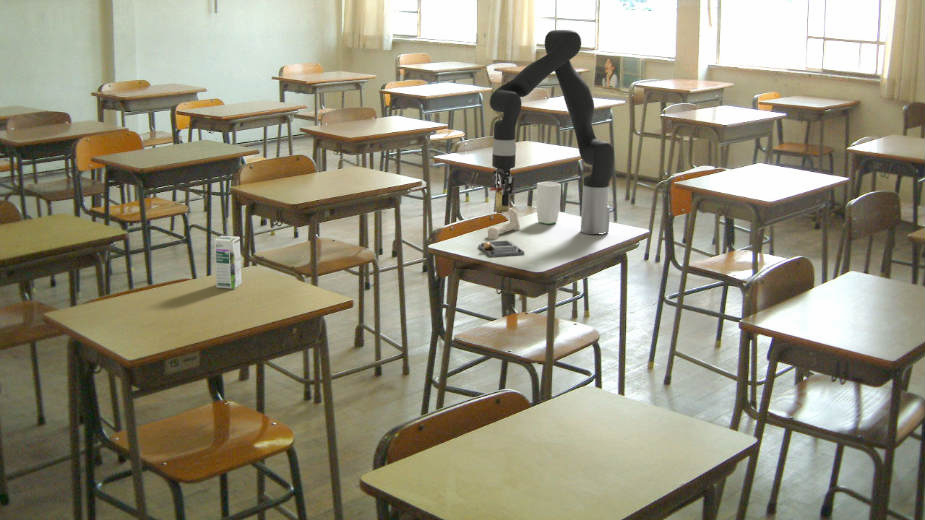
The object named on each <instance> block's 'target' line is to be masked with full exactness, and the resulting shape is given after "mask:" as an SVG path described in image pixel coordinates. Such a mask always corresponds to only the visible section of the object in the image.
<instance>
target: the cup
mask: <svg viewBox="0 0 925 520" xmlns="http://www.w3.org/2000/svg"><path fill="white" fill-rule="evenodd" d="M561 191H562V184H561V183H558V182H554V181H542V182H537V183H536V214H537V221H538V222H539V223H541V224H543V225H551V224H556V223H557V222H558V218H559V212H560V205H561V193H562V192H561Z"/></svg>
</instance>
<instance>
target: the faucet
mask: <svg viewBox="0 0 925 520" xmlns="http://www.w3.org/2000/svg"><path fill="white" fill-rule="evenodd" d="M505 213H506V212H502V214H505ZM508 217H509V223H507V224H504V225H502V226H499V227H497V226H494V225H492V226H490V227H489V228H488V230H487V238H488V239H490V240H491V239H492V240H497V239H499V236H500V233H506V232H509V231H518V230H520V228H521V227H520V221H519V217H518V212H517V211H516V209H514V208H512V207H509V212H508Z"/></svg>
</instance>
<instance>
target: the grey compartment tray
mask: <svg viewBox="0 0 925 520" xmlns="http://www.w3.org/2000/svg"><path fill="white" fill-rule="evenodd" d="M478 247H479V250H480V251H482V252H483V251H484V252H485V254H486V255H487V256H488V257H489V256H490V258H492V257H491V256H496V257H508V256H507V255H511V256H521V255H523V256H524V255H525V251H524V250H523V249H522V248H520V247H519V246H517V245H516V244H515V243H513V242H512V241H510V240H508V239H506V240H502V239H501V240H491V241H490V240H487V241H486V242H482V243H480V244H478ZM478 247H477V248H478ZM484 252H483V253H484Z"/></svg>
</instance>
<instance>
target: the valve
mask: <svg viewBox="0 0 925 520" xmlns="http://www.w3.org/2000/svg"><path fill="white" fill-rule="evenodd" d="M496 190H499V192H497V191H496ZM489 191H496V193H495V212H497V213H503V212H505V213H509V209H510V204H509V205H508V206H502V188H494V187H490V188H489Z"/></svg>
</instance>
